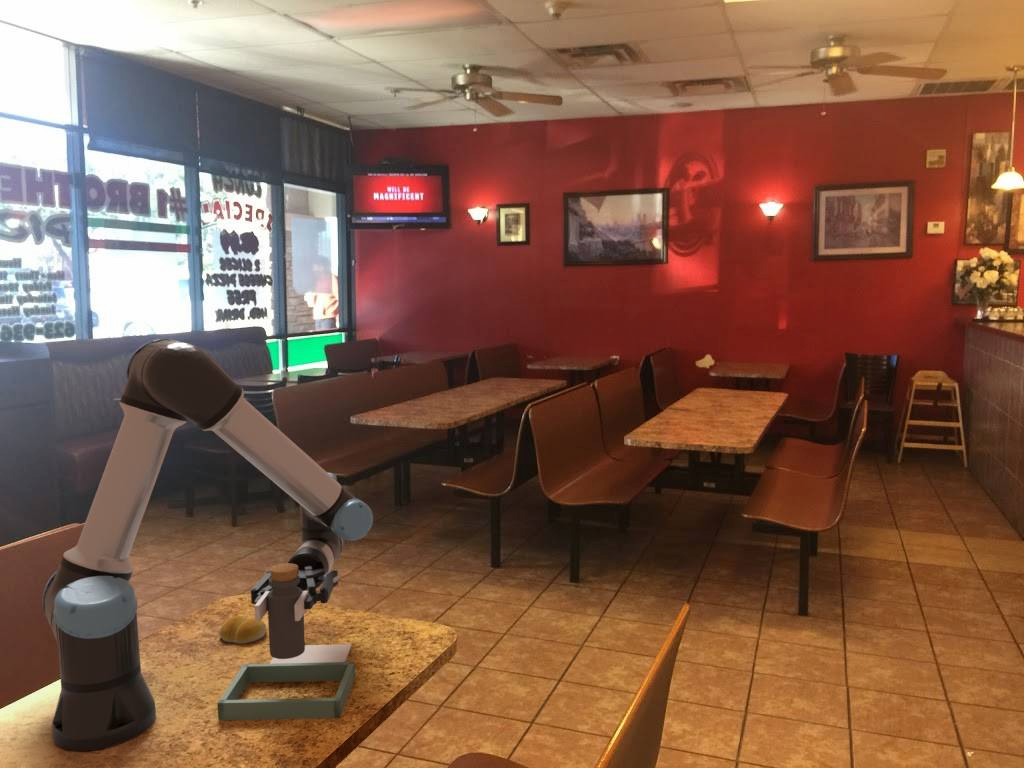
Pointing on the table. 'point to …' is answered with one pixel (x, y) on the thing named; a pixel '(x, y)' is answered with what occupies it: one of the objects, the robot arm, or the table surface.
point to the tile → (319, 654)
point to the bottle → (284, 612)
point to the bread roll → (242, 630)
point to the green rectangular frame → (287, 707)
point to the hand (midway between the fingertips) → (277, 613)
